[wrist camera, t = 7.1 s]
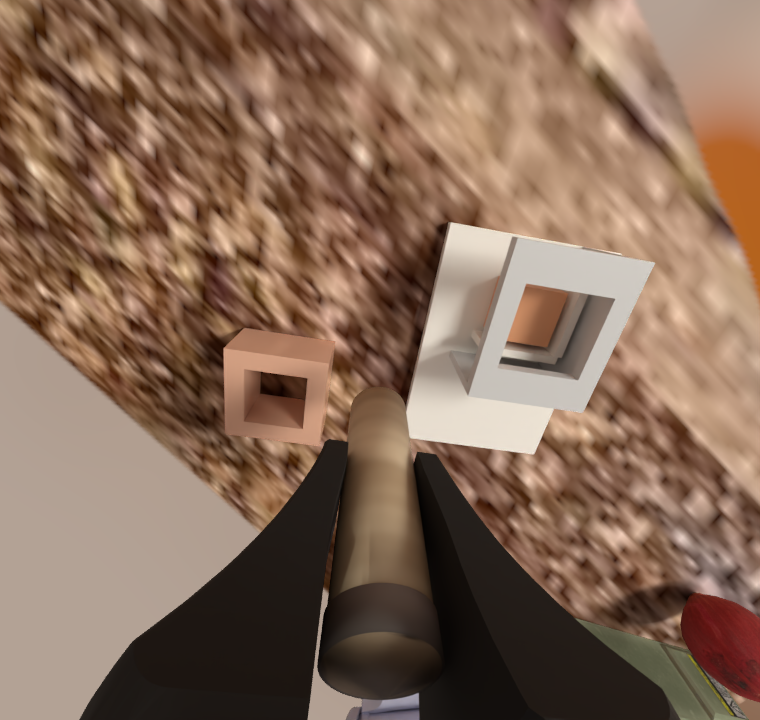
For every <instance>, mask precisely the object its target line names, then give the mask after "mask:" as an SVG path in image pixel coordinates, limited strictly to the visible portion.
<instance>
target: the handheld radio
mask: <svg viewBox="0 0 760 720" xmlns="http://www.w3.org/2000/svg"><path fill="white" fill-rule="evenodd" d="M575 619H576V620H577V621H578V622H580V623H581V624H582V625H583V626H584V627H585V628H587V629H588V630H589V631H590V632H591V633H592V634H594V635H595V636H596V637H597V638H598V639H599V640H601V641H602V642H603V643H604V644H605V645H607V646H608V647H609V648H610V649H612V650H613V651H614V652H616V653H617V654H618V655H619V656H621V657H622V658H623V659H625V660H626V661H627V662H628V663H630V664H631V665H632V666H634V667H635V668H636V669H637V670H639V671H640V672H641V673H643V674H644V675H645V676H646V677H648V678H649V679H650V680H652V681H653V682H654V683H656V684H657V685H658V686H659V687H661V688H662V689H663V691H664V693H665V694H666V696H667V697H668V699H669V701H670V702H671V704H672V706H673V707H674V709H675V711H676V712H677V714H678V716H679V718H680V719H681V720H749V719H748V718H747V717H746V715H745V714H744V713H743V711H742V710H741V709H740V708H739V706H738V705H737V703H736V702H735V701H734V699H733V698H732V697H731V695H730V694H729V693H728V691H727V690H726V689H725V687H724V686H723V685H722V684H720V683H719V682H717V681H716V680H715V679H714V678H712V677H711V676H710V675H709V674H708V673H707V672H706V671H705V670H704V669H703V668H702V667H701V666H700V665H699V663H698V662H697V661H696V659H695V658H694V657H693V655H692V654H691V652H690V651H689V650H686V649H682V648H679V647H675V646H672V645H668V644H665V643H661V642H657V641H654V640H650V639H647V638H643V637H640V636H636V635H633V634H629V633H626V632H622V631H619V630H615V629H612V628H608V627H605V626H601V625H598V624H594V623H591V622H587V621H584V620H580V619H577V618H575Z"/></svg>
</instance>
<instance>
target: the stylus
mask: <svg viewBox="0 0 760 720" xmlns="http://www.w3.org/2000/svg"><path fill="white" fill-rule="evenodd" d="M347 442H349V444H348V457H347V462H346V468H345V473H344V479H343V484H342V489H341V496H340V504H339V512H338V521H337V529H336V537H335V546H334V554H333V562H332V571H331V579H330V588H329V596H328V605H327V607H326V609H325V612H324V616H323V624H322V633H321V640H320V648H319V656H318V665H317V668H318V672H319V675H320V677H321V678H322V680H323V681H324V682H325V683H326V684H327V685H329V686H330V687H331V688H333V689H335V690H336V691H338V692H340V693H342V694H345V695H348V696H352V697H355V698H361V699H368V700H391V699H399V698H404V697H408V696H411V695H414V694H417V693H419V692H422V691H424V690H426V689H428V688H429V687H431V686H432V685H433V684H434V683H436V682H437V681H438V679H439V678H440V677H441V675H442V674H443V671H444V668H445V661H444V654H443V647H442V641H441V634H440V627H439V620H438V614H437V610H436V607H435V605H434V604H433V597H432V590H431V583H430V576H429V569H428V562H427V555H426V548H425V541H424V534H423V527H422V520H421V513H420V506H419V499H418V492H417V485H416V478H415V471H414V464H413V457H412V450H411V443H410V436H409V429H408V422H407V415H406V408H405V403H404V401H403V399H402V398H401V397H400V395H399V394H397V393H396V392H395V391H393V390H391V389H388V388H385V387H372V388H368V389H366V390H364V391H362V392H361V393H359V394H358V395H357V396H356V397H355V399H354V400H353V402H352V405H351V412H350V420H349V429H348V437H347Z"/></svg>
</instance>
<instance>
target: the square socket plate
mask: <svg viewBox="0 0 760 720" xmlns="http://www.w3.org/2000/svg"><path fill="white" fill-rule="evenodd" d="M654 264H655V263H654V262H649V261H645V260H641V259H636V258H632V257H627V256H623V255H622V254H620V253H616V252H611V251H605V250H600V249H594V248H589V247H583V246H578V245H572V244H567V243H561V242H556V241H550V240H545V239H540V238H534V237H529V236H523V235H518V234H512V233H507V232H501V231H496V230H490V229H485V228H479V227H474V226H469V225H463V224H458V223H452V222H448V227H447V231H446V235H445V240H444V244H443V248H442V252H441V257H440V261H439V265H438V270H437V274H436V278H435V283H434V287H433V291H432V295H431V300H430V304H429V308H428V313H427V317H426V321H425V326H424V330H423V334H422V338H421V343H420V347H419V351H418V356H417V360H416V364H415V368H414V373H413V377H412V381H411V386H410V390H409V394H408V399H407V403H406V407H405V408H406V415H407V422H408V429H409V436H410V438H413V439H421V440H428V441H436V442H444V443H451V444H459V445H466V446H474V447H481V448H489V449H497V450H504V451H512V452H519V453H527V454H534V453H535V451H536V449H537V446H538V444H539V442H540V439H541V437H542V435H543V433H544V430H545V428H546V426H547V424H548V421H549V419H550V417H551V414H552V412H553V410H554V409H559V410H566V411H573V412H580V413H583V411H584V409H585V407H586V405H587V403H588V401H589V399H590V397H591V395H592V393H593V391H594V389H595V386H596V384H597V382H598V380H599V378H600V376H601V374H602V372H603V370H604V368H605V366H606V364H607V362H608V359H609V357H610V355H611V353H612V351H613V349H614V347H615V345H616V343H617V341H618V339H619V337H620V335H621V333H622V330H623V328H624V326H625V324H626V322H627V320H628V318H629V316H630V314H631V312H632V310H633V308H634V306H635V303H636V301H637V299H638V297H639V295H640V293H641V291H642V289H643V287H644V285H645V283H646V281H647V279H648V277H649V274H650V272H651V270H652V268H653V266H654ZM498 276H500V278H499V281H498V284H497V287H496V291H495V294H494V297H493V300H492V304H491V307H490V310H489V313H488V317H487V320H486V323H485V326H483V325H484V322H485V318H486V315H487V312H488V309H489V305H490V302H491V299H492V296H493V292H494V289H495V286H496V283H497V279H498ZM526 284H532V285H538V286H544V287H549V288H555V289H560V290H562V291H564V292H566V293H568V296H567V299H566V301H565V304H564V306H563V309H562V311H561V314H560V316H559V319H558V321H557V324H556V326H555V329H554V331H553V334H552V336H551V339H550V341H549V344H548V346H547V347H541V346H535V345H529V344H522V343H516V342H510V341H507V339H508V336H509V333H510V330H511V327H512V324H513V321H514V318H515V315H516V312H517V309H518V306H519V304H520V301H521V298H522V295H523V292H524V289H525V286H526Z"/></svg>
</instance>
